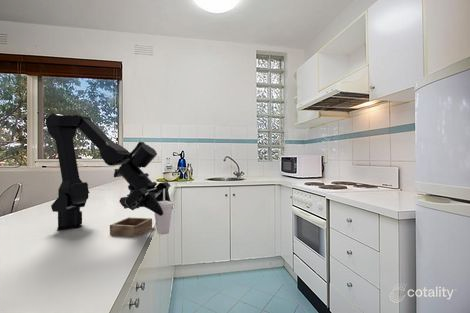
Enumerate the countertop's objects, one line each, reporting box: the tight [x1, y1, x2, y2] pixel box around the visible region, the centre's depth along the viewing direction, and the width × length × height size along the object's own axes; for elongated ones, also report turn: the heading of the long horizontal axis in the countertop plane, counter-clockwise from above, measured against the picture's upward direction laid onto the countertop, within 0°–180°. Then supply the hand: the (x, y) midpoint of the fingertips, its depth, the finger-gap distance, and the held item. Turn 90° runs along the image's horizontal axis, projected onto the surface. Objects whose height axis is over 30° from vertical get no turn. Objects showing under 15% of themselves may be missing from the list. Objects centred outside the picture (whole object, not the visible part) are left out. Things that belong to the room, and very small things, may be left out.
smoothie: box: [153, 189, 174, 236], centre depth 75 cm, size 6×6×14 cm
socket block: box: [109, 216, 153, 237], centre depth 77 cm, size 9×9×3 cm
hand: (167, 212), depth 75 cm, fingers closed on smoothie, 6 cm apart
